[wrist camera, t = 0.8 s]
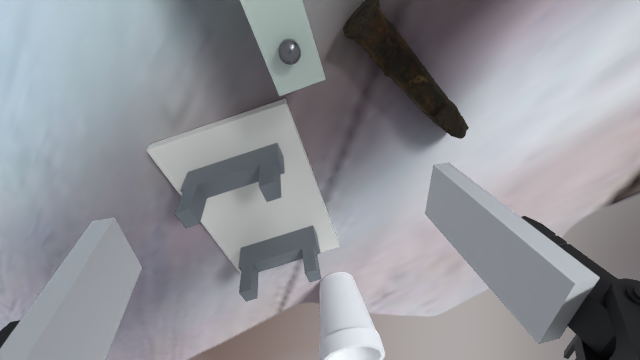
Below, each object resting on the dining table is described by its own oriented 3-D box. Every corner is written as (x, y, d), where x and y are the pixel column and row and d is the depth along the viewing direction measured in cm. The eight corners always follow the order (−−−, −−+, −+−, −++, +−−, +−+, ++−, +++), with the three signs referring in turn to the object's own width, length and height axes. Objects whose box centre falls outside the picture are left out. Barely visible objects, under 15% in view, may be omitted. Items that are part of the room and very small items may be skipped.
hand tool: (336, 26, 29) (346, 34, 25) (367, -8, 27) (382, -5, 23) (432, 140, 38) (449, 159, 34) (458, 119, 37) (479, 136, 33)
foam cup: (356, 297, 56) (376, 372, 45) (308, 300, 54) (318, 378, 44) (366, 265, 50) (391, 341, 40) (314, 267, 49) (326, 347, 38)
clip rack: (285, 98, 32) (289, 134, 24) (338, 239, 46) (350, 289, 38) (150, 143, 32) (116, 192, 25) (243, 268, 47) (237, 322, 39)
